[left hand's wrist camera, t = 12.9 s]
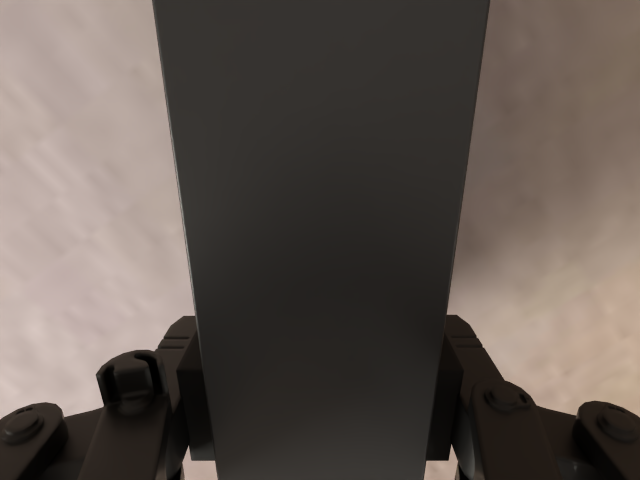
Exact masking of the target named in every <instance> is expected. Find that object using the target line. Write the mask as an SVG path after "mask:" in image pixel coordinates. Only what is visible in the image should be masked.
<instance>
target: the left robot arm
mask: <svg viewBox="0 0 640 480" xmlns="http://www.w3.org/2000/svg"><path fill="white" fill-rule="evenodd" d="M96 377H97V381H98V385H99V388H100V392H101V396H102V399H103V403H104V407H102V408H99V409H96V410H93V411H89V412H84V413H80V414H76V415H72V416H67V417H64V415H63V412H62V409H61V408H60V407H58V406H57V405H56V404H52V403H47V402H45V403H37V404H31V405H29V406H26V407H23V408H20V409H17V410H16V411H14V412H12V413H10V414H8V415H7V416H5V417H3V418H2V419H1V420H0V480H184V478H185V477H184V470H183V464H182V462H183V459H184V456H185V454H186V451H187V448H188V445H189V449H190V455H191V460H192V461H215V456H214V448H213V441H212V434H211V426H210V419H209V412H208V404H207V397H206V390H205V383H204V375H203V368H202V361H201V353H200V346H199V339H198V331H197V324H196V317H195V316H183V317H182V318H180V319H179V320H178V321H176V322H175V323H174V324H172V325H171V326H170V328H169V329H168V331H167V333H166V334H165V336H164V339H162V341H161V342H160V344H159V345H158V349H156V350H155V352H154V351H150V350H135V351H131V352H127V353H123V354H121V355H119V356H117V357H115V358H112V359H111V360H109V361H108V362H107V363H106V364H104V365H103V366H102V367H101V368H100V370H99V371H98V372H97V374H96ZM451 444H452V446H453V449H454V452H455V454H456V457H457V460H458V464H457V470H456V475H455V480H640V417H638V416H637V415H635V414H633V413H632V412H630V411H628V410H626V409H624V408H622V407H619V406H617V405H614V404H611V403H608V402H600V401H591V402H585V403H584V404H583V405H581V406H580V407H579V409H578V412H577V415H576V416H575V415H571V414H567V413H562V412H558V411H554V410H550V409H546V408H543V407H540V406H537V405H536V404H535V402H534V401H533V399H532V398H531V396H530V395H529V394H528V393H526V392H525V391H524V390H523V389H522V388H520V387H518V386H516V385H514V384H512V383H511V382H508V381H505V380H504V379H503V377H502V375H501V374H500V372H499V371H498V369H497V368H496V366H495V364H494V363H493V361H492V360H491V358H490V356H489V355H488V353H487V352H486V350H485V348H483V347H482V344H481V342H480V341H479V339H478V338H477V336H476V334H475V333H474V331H473V329H472V328H471V326H470V325H469V324H468V323H467V322H465V321H464V320H463V319H461V318H460V317H459V316H457V315H446V322H445V329H444V337H443V344H442V351H441V358H440V365H439V373H438V380H437V387H436V394H435V401H434V409H433V416H432V423H431V430H430V437H429V445H428V452H427V459H426V461H448V460H449V455H450V449H451Z"/></svg>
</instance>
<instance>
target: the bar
mask: <svg viewBox="0 0 640 480" xmlns="http://www.w3.org/2000/svg"><path fill="white" fill-rule="evenodd" d="M152 3H153V10H154V17H155V25H156V32H157V39H158V47H159V54H160V61H161V68H162V76H163V83H164V90H165V98H166V105H167V112H168V120H169V127H170V134H171V142H172V149H173V156H174V163H175V171H176V178H177V185H178V193H179V200H180V207H181V215H182V222H183V229H184V236H185V244H186V251H187V258H188V266H189V273H190V280H191V288H192V295H193V302H194V309H195V317H196V324H197V331H198V339H199V346H200V353H201V361H202V368H203V375H204V383H205V390H206V397H207V404H208V412H209V419H210V426H211V434H212V441H213V448H214V456H215V463H216V470H217V477H218V480H424V473H425V466H426V459H427V452H428V445H429V437H430V430H431V423H432V416H433V409H434V401H435V394H436V387H437V380H438V373H439V365H440V358H441V351H442V344H443V337H444V329H445V322H446V315H447V308H448V301H449V293H450V286H451V279H452V272H453V265H454V257H455V250H456V243H457V236H458V229H459V221H460V214H461V207H462V200H463V193H464V185H465V178H466V171H467V164H468V157H469V149H470V142H471V135H472V128H473V121H474V113H475V106H476V99H477V92H478V85H479V77H480V70H481V63H482V56H483V49H484V41H485V34H486V27H487V20H488V13H489V5H490V0H152Z"/></svg>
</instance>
